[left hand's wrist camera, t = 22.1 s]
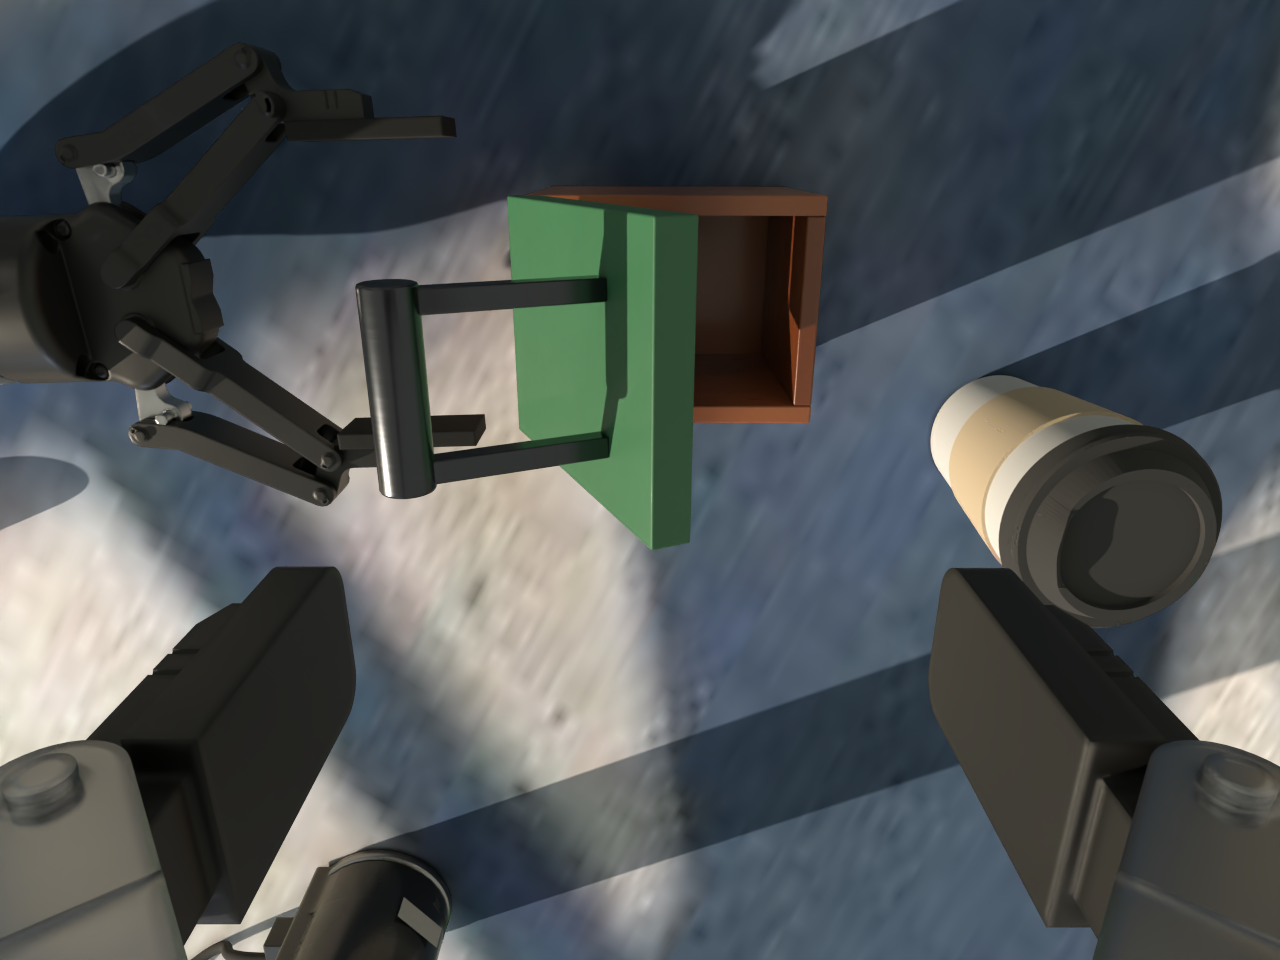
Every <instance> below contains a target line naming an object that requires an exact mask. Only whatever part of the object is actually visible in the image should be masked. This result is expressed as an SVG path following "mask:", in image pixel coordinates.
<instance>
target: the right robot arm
mask: <svg viewBox="0 0 1280 960" xmlns="http://www.w3.org/2000/svg"><path fill="white" fill-rule="evenodd" d="M249 96H251V98H252V99H251V101H250V102H249V103H248V104H247V105H246V106H245V108H244V109H243V110H242V111H241V112H240V113H239V115H238V116H237V117H236V118H235V119H234V120H233V122H232V123H231V124H230V125H229V126H228V127H227V129H226V130H225V131H224V132H223V133H222V134H221V136H220V137H219V138H218V139H217V140H216V141H215V143H214V144H213V145H212V146H211V147H210V148H209V150H208V151H207V152H206V153H205V154H204V155H203V156H202V158H201V159H200V160H199V161H198V162H197V163H196V165H195V166H194V167H193V168H192V169H191V170H190V172H189V173H188V174H187V175H186V176H185V177H184V179H183V180H182V181H181V182H180V183H179V184H178V186H177V187H176V188H175V189H174V190H173V191H172V193H171V194H170V195H169V196H168V197H167V198H166V199H165V200H164V201H163V202H161V203H159V204H157V205H156V206H155V207H153V208H152V209H151V210H150V211H149V213H148V214H145V213H144V212H142V211H140V210H139V209H137V208H136V207H134V206H132V205H130V204H128V203H126V202H123V201H122V199H121V190H122V188H123V187H124V186H125V185H126V184H128V183H130V182H132V181H133V179H134V178H135V175H136V174H137V172H138V169H137V167H136V165H135V163H139V162H143V161H146V160H149V159H151V158H154V157H155V156H157V155H159V154H161V153H162V152H164V151H166V150H167V149H169V148H170V147H172V146H173V145H175V144H176V143H178V142H179V141H181V140H182V139H184V138H186V137H187V136H189V135H190V134H192V133H193V132H195V131H196V130H198V129H199V128H201V127H202V126H204V125H206V124H207V123H209V122H210V121H212V120H213V119H215V118H216V117H218V116H219V115H221V114H223V113H224V112H226V111H227V110H229V109H230V108H232V107H233V106H235V105H236V104H238V103H239V102H241V101H243V100H244V99H246V98H247V97H249ZM286 137H287V141H306V142H320V141H351V140H382V139H413V138H444V137H456V127H455V119H453V118H449V117H444V116H419V117H388V118H374V113H373V106H372V98H371V96H369V95H366V94H363V93H361V92H358V91H354V90H350V89H340V90H310V91H295V90H293V89H292V88H291V87H290V86H289V85H288V83H287V82H286V80H285V78H284V76H283V74H282V72H281V63H280V60H279V58H278V57H277V56H276V55H275V53H273V52H271V51H269V50H266V49H263V48H259V47H256V46H252V45H249V44H246V43H236V44H233V45H232V46H230V47H229V48H227V49H226V50H224V51H223V52H221V53H220V54H218V55H217V56H215V57H214V58H212V59H211V60H209V61H208V62H206V63H205V64H203V65H202V66H200V67H199V68H197V69H196V70H194V71H193V72H191V73H190V74H188V75H187V76H185V77H184V78H182V79H181V80H179V81H178V82H176V83H175V84H173V85H172V86H170V87H168V88H167V89H165V90H164V91H162V92H161V93H159V94H158V95H156V96H155V97H153V98H152V99H150V100H149V101H147V102H146V103H144V104H143V105H141V106H140V107H138V108H137V109H135V110H134V111H132V112H131V113H129V114H128V115H126V116H125V117H123V118H122V119H120V120H119V121H117V122H116V123H114V124H113V125H111V126H110V127H108V128H107V129H105V130H104V131H102V132H97V133H91V134H85V135H79V136H72V137H66V138H62V139H60V140H59V141H58V142H57V143H56V145H55V154H56V157H57V159H58V160H59V162H61V163H62V164H63V165H64V166H66V167H68V168H75V169H76V171H77V174H78V177H79V180H80V182H81V185H82V188H83V191H84V193H85V196H86V199H87V202H88V204H89V205H88V206H86V207H85V208H84V209H83V210H81V211H79V212H77V213H75V214H52V215H21V216H0V385H4V384H9V383H14V382H20V383H59V382H93V381H115V382H119V383H122V384H125V385H127V386H129V387H131V388H134V389H135V392H136V400H137V407H138V414H139V422H137V423H135V424H133V425H132V426H131V427H130V428H129V437H130V439H131V440H132V442H133V443H135V444H136V445H138V446H141V447H149V448H162V449H174V450H180V451H183V452H185V453H188V454H190V455H193V456H195V457H198V458H200V459H203V460H205V461H208V462H210V463H213V464H215V465H218V466H220V467H223V468H225V469H228V470H230V471H233V472H235V473H238V474H240V475H243V476H245V477H248V478H250V479H253V480H255V481H258V482H260V483H263V484H265V485H268V486H270V487H273V488H275V489H278V490H280V491H283V492H285V493H288V494H290V495H293V496H295V497H298V498H300V499H303V500H305V501H308V502H310V503H313V504H315V505H318V506H327V505H329V504H331V503H332V501H333V500H334V499H335V498H336V497H337V496H338V495H339V494H340V493H341V491H342V490H343V489H344V488H345V487H346V486H347V485H348V483H349V469H350V468H362V467H377V465H376V456H375V448H374V439H373V431H372V423H371V418H355V419H354V420H353V421H352V422H350V423H349V424H348V425H347V426H346V427H345V428H344V429H342V428H340V427H339V426H337V425H336V424H334V423H333V422H331V421H330V420H329V419H327V418H326V417H324V416H323V415H321V414H320V413H318V412H317V411H315V410H314V409H313V408H311V407H310V406H308V405H307V404H305V403H304V402H302V401H301V400H300V399H298V398H297V397H295V396H294V395H292V394H291V393H289V392H288V391H287V390H285V389H284V388H282V387H281V386H279V385H278V384H276V383H275V382H273V381H272V380H271V379H269V378H268V377H266V376H265V375H263V374H262V373H260V372H259V371H258V370H256V369H255V368H253V367H252V366H250V365H249V364H247V363H246V362H245V361H244V360H243V359H242V355H241V354H240V353H239V352H238V351H236V350H235V349H234V348H232V347H231V346H229V345H228V344H226V343H225V342H223V341H222V340H221V339H219V338H218V337H217V336H218V333H219V327H221V326H223V325H224V324H223V319H222V314H221V309H220V307H219V305H218V303H217V301H216V299H215V297H214V295H213V271H212V266H211V262H210V259H205V258H204V256H203V255H202V253H201V252H200V250H199V249H198V248H197V247H196V246H195V245H196V243H197V242H198V241H199V240H200V239H201V238H202V237H203V236H204V234H205V233H206V232H207V231H208V230H209V229H210V228H211V226H212V225H213V224H214V219H215V217H216V216H217V215H218V214H219V212H220V211H221V210H222V209H223V208H224V207H225V206H226V205H227V203H228V202H229V201H230V200H231V199H232V198H233V197H234V195H235V194H236V193H237V192H238V191H239V190H240V189H241V188H242V186H243V185H244V184H245V183H246V182H247V181H248V180H249V179H250V177H251V176H252V175H253V174H254V173H255V172H256V171H257V170H258V168H259V167H260V166H261V165H262V164H263V163H264V162H265V161H266V159H267V158H268V157H269V156H270V155H271V154H272V153H273V151H274V150H275V149H276V148H277V147H278V146H279V145H280V144H281V142H282V141H283V140H284V139H285V138H286ZM175 377H176V378H178V379H179V380H181V381H182V382H184V383H185V384H187V385H188V386H190V387H191V388H193V389H195V390H198V391H204V392H208V393H209V394H211V395H213V396H214V397H216V398H217V399H219V400H220V401H221V402H223V403H224V404H226V405H227V406H229V407H230V408H232V409H233V410H235V411H236V412H238V413H239V414H241V415H242V416H244V417H245V418H247V419H248V420H250V421H251V422H253V423H254V424H256V425H257V426H259V427H260V428H262V429H263V430H265V431H266V432H268V433H269V434H270V435H272V436H273V437H275V438H276V439H278V440H279V441H281V442H282V443H284V444H282V443H280V442H278V441H275V440H273V439H270V438H268V437H265V436H263V435H260V434H258V433H256V432H253V431H251V430H248V429H246V428H243V427H241V426H239V425H236V424H234V423H231V422H229V421H226V420H224V419H221V418H219V417H216V416H213V415H210V414H207V413H203V412H197V411H192V405H191V404H190V403H189V402H187V401H183V400H180V399H177V398H175V397H173V396H172V395H171V394H170V393H169V392H168V390H167V387H166V384H167V383H169V382H171V381H172V380H173V379H174V378H175ZM430 417H431V428H432V438H433V447H450V446H476V445H477V443H478V442H479V440H480V438H481V436H482V435H483V433H484V431H485V429H486V424H485V414H477V415H442V416H430Z"/></svg>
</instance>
